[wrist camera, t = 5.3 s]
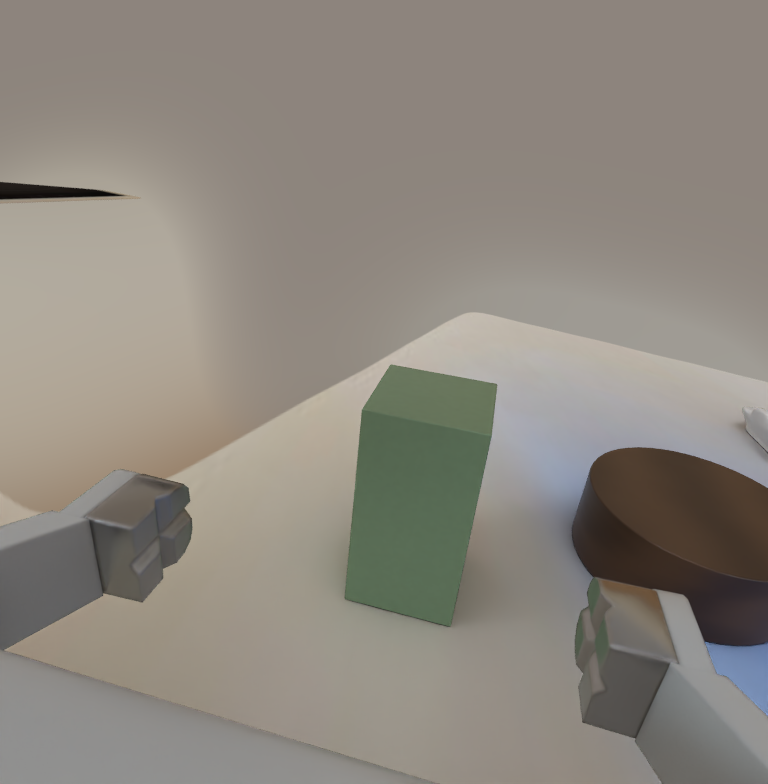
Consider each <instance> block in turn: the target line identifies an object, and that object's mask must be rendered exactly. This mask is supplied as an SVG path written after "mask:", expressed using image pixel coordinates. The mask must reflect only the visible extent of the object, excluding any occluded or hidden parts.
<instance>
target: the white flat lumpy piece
mask: <svg viewBox="0 0 768 784" xmlns="http://www.w3.org/2000/svg"><path fill="white" fill-rule="evenodd" d="M742 411H743V415H744V418H745V421H746V430H747V432H748V433H749V434H750V435H751V436H752V437H753V438H754V439H755V440H756V441H757V442H758V443H759V444H760V445H761V446H762V447H763V448H764V449H765V450H766V451H767V452H768V410H766V409H763V408H756V407H743V408H742Z"/></svg>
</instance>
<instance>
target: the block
mask: <svg viewBox="0 0 768 784" xmlns="http://www.w3.org/2000/svg"><path fill="white" fill-rule="evenodd" d="M496 391H497V384H494V383H488V382H483V381H478V380H472V379H467V378H461V377H456V376H450V375H445V374H440V373H434V372H429V371H423V370H418V369H412V368H407V367H401V366H396V365H390V366H389V368H388V370H387V371H386V373H385V374H384V376H383V378H382V379H381V381H380V382H379V384H378V385H377V387H376V389H375V390H374V392H373V393H372V395H371V396H370V398H369V400H368V401H367V403H366V404H365V406H364V407H363V409H362V415H361V426H360V437H359V448H358V459H357V470H356V481H355V492H354V502H353V513H352V524H351V535H350V546H349V557H348V568H347V579H346V590H345V599H347V600H351V601H355V602H359V603H362V604H366V605H370V606H374V607H377V608H381V609H385V610H389V611H393V612H396V613H400V614H404V615H408V616H411V617H415V618H419V619H423V620H426V621H430V622H434V623H438V624H441V625H445V626H449V627H450V626H451V622H452V618H453V613H454V608H455V604H456V599H457V594H458V590H459V585H460V580H461V576H462V571H463V566H464V562H465V557H466V552H467V548H468V543H469V539H470V534H471V529H472V525H473V520H474V515H475V511H476V506H477V501H478V497H479V492H480V487H481V483H482V478H483V473H484V469H485V464H486V459H487V455H488V450H489V445H490V441H491V436H492V427H493V418H494V409H495V400H496Z"/></svg>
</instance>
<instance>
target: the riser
mask: <svg viewBox="0 0 768 784" xmlns="http://www.w3.org/2000/svg"><path fill="white" fill-rule="evenodd" d="M572 538H573V542H574V546H575V548H576V551H577V553H578V555H579V557H580V559H581V560H582V562H583V564H584V565H585V567H586V568H587V569H588V571H589V572H590V573H591V574H592V575H593V577H599V578H603V579H608V580H613V581H617V582H622V583H626V584H631V585H635V586H640V587H645V588H649V589H657V590H662V591H667V592H672V593H677V594H682V595H684V596H685V597H686V598H687V599H688V601H689V603H690V606H691V608H692V611H693V614H694V616H695V619H696V621H697V624H698V627H699V629H700V632H701V634H702V637H703V639H704V641H708V642H713V643H718V644H725V645H735V646H743V645H756V644H762V643H765V642H768V488H767V487H765V486H763V485H761V484H760V483H758V482H756V481H754V480H752V479H750V478H748V477H746V476H744V475H742V474H740V473H738V472H736V471H733V470H731V469H729V468H726V467H724V466H721V465H719V464H716V463H713V462H711V461H708V460H704V459H701V458H698V457H695V456H691V455H687V454H683V453H679V452H674V451H669V450H663V449H655V448H640V447H637V448H623V449H617V450H613V451H610V452H607V453H605V454H603V455H602V456H600V457H598V458H597V460H596V461H595V462H594V463H593V465H592V466H591V468H590V472H589V475H588V478H587V481H586V484H585V487H584V491H583V494H582V497H581V500H580V503H579V506H578V509H577V513H576V516H575V519H574V522H573V527H572Z"/></svg>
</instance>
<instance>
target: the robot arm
mask: <svg viewBox="0 0 768 784" xmlns="http://www.w3.org/2000/svg"><path fill="white" fill-rule="evenodd" d="M189 502H190V496H189V488H188V487H187V486H185V485H184V484H182V483H178V482H174V481H170V480H166V479H162V478H158V477H154V476H150V475H146V474H139V473H136V472H132V471H128V470H124V469H119V470H114V471H113V472H111V473H110V474H109V475H107V476H106V477H105V478H104V479H102V480H101V481H100V482H98V483H97V484H95V485H94V486H93V487H92V488H90V489H89V490H88V491H86V492H85V493H84V494H82V495H81V496H80V497H78V498H77V499H76V500H74V501H73V502H72V503H70V504H69V505H68V506H66V507H65V508H64V509H62V510H61V511H60V512H57V511H49V512H46V513H43V514H39V515H36V516H33V517H30V518H26V519H23V520H20V521H17V522H13V523H10V524H7V525H4V526H0V784H438V783H434V782H431V781H428V780H425V779H421V778H418V777H415V776H411V775H408V774H405V773H402V772H398V771H395V770H392V769H389V768H385V767H382V766H379V765H375V764H372V763H369V762H366V761H362V760H359V759H356V758H353V757H349V756H346V755H343V754H340V753H336V752H333V751H330V750H326V749H323V748H320V747H317V746H313V745H310V744H307V743H304V742H300V741H297V740H294V739H291V738H287V737H284V736H281V735H278V734H274V733H271V732H268V731H265V730H261V729H258V728H255V727H252V726H248V725H245V724H242V723H239V722H235V721H232V720H229V719H226V718H222V717H219V716H216V715H213V714H209V713H206V712H203V711H200V710H196V709H193V708H190V707H187V706H183V705H180V704H177V703H174V702H170V701H167V700H164V699H161V698H157V697H154V696H151V695H148V694H144V693H141V692H138V691H134V690H131V689H128V688H125V687H121V686H118V685H115V684H112V683H108V682H105V681H102V680H99V679H95V678H92V677H89V676H86V675H82V674H79V673H76V672H72V671H69V670H66V669H63V668H59V667H56V666H53V665H50V664H46V663H43V662H40V661H37V660H33V659H30V658H27V657H24V656H20V655H17V654H14V653H11V652H7V651H4V650H5V649H7V648H8V647H10V646H12V645H14V644H16V643H17V642H19V641H21V640H23V639H25V638H27V637H28V636H30V635H32V634H34V633H36V632H38V631H39V630H41V629H43V628H45V627H47V626H49V625H50V624H52V623H54V622H56V621H58V620H59V619H61V618H63V617H65V616H67V615H69V614H70V613H72V612H74V611H76V610H78V609H80V608H81V607H83V606H85V605H87V604H89V603H90V602H92V601H94V600H96V599H98V598H100V597H101V596H103V593H105V594H109V595H113V596H117V597H121V598H126V599H130V600H134V601H138V602H143V601H144V600H145V599H146V598H147V597H148V595H149V594H150V593H151V592H152V591H153V590H154V588H155V587H156V586H157V585H158V584H159V583H160V582H161V580H162V579H163V569H164V568H166V567H168V566H170V565H173V564H175V563H177V562H178V560H179V559H180V558H181V557H182V555H183V554H184V553H185V551H186V549H187V546H188V544H189V542H190V540H191V534H192V518H191V517H190V515H189V514H188V513H187V511H186V510H185V507H186V506H187V504H188V503H189ZM587 596H588V603H589V606H588V607H586V608H585V609H583V610H581V613H580V616H579V619H578V623H577V628H576V635H575V660H576V665H577V666H578V668H579V669H580V670H581V672H582V673H583V675H582V678H581V681H580V683H579V686H578V688H579V697H580V706H581V714H582V723H586V724H589V725H592V726H595V727H599V728H602V729H605V730H609V731H612V732H615V733H619V734H622V735H625V736H629V737H632V738H635V739H636V740H635V742H636V744H637V745H638V747H639V748H640V750H641V751H642V753H643V754H644V756H645V757H646V759H647V761H648V762H649V764H650V765H651V767H652V768H653V770H654V771H655V773H656V775H657V776H658V778H659V779H660V781H661V782H662V784H768V716H767V715H766V714H765V713H764V712H763V711H762V710H761V709H760V708H758V707H757V706H756V705H755V704H754V703H753V702H752V701H751V700H750V699H749V698H748V697H747V696H746V695H745V694H744V693H743V692H742V691H741V690H740V689H739V688H738V687H737V686H736V685H735V684H734V683H733V682H732V681H731V680H730V679H729V678H727V677H726V676H722V675H718V674H717V673H716V670H715V668H714V665H713V663H712V660H711V658H710V655H709V652H708V650H707V647H706V645H705V642H704V639H703V637H702V634H701V632H700V629H699V627H698V624H697V621H696V619H695V616H694V614H693V611H692V608H691V606H690V603H689V601H688V599H687V598H686V597H685V596H684V595H682V594H677V593H672V592H667V591H662V590H657V589H649V588H645V587H640V586H635V585H631V584H626V583H622V582H617V581H613V580H608V579H603V578H599V577H594V578H593V579H592V581H591V583H590V585H589V588H588V591H587Z"/></svg>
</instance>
